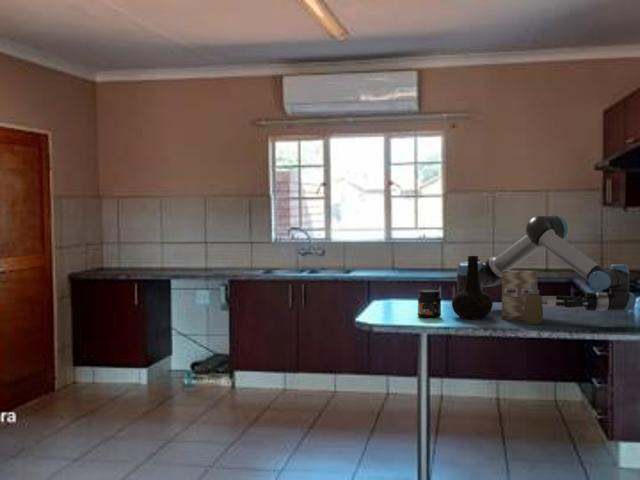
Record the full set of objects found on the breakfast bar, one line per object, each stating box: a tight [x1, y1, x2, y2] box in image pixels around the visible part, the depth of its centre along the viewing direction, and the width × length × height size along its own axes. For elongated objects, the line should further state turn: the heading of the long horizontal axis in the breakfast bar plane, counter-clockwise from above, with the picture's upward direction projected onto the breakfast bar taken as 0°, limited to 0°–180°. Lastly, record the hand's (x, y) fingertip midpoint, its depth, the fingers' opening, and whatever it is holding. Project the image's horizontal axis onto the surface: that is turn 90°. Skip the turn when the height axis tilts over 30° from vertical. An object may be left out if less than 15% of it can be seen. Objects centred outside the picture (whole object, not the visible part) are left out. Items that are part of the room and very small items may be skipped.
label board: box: [501, 270, 538, 321], centre depth 334 cm, size 15×6×22 cm, turn 77°
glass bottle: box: [451, 255, 494, 320], centre depth 339 cm, size 18×18×28 cm
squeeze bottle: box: [524, 281, 544, 326], centre depth 321 cm, size 8×8×18 cm
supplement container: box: [417, 289, 442, 319], centre depth 342 cm, size 10×10×12 cm
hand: (544, 301), depth 320 cm, fingers open, 13 cm apart
